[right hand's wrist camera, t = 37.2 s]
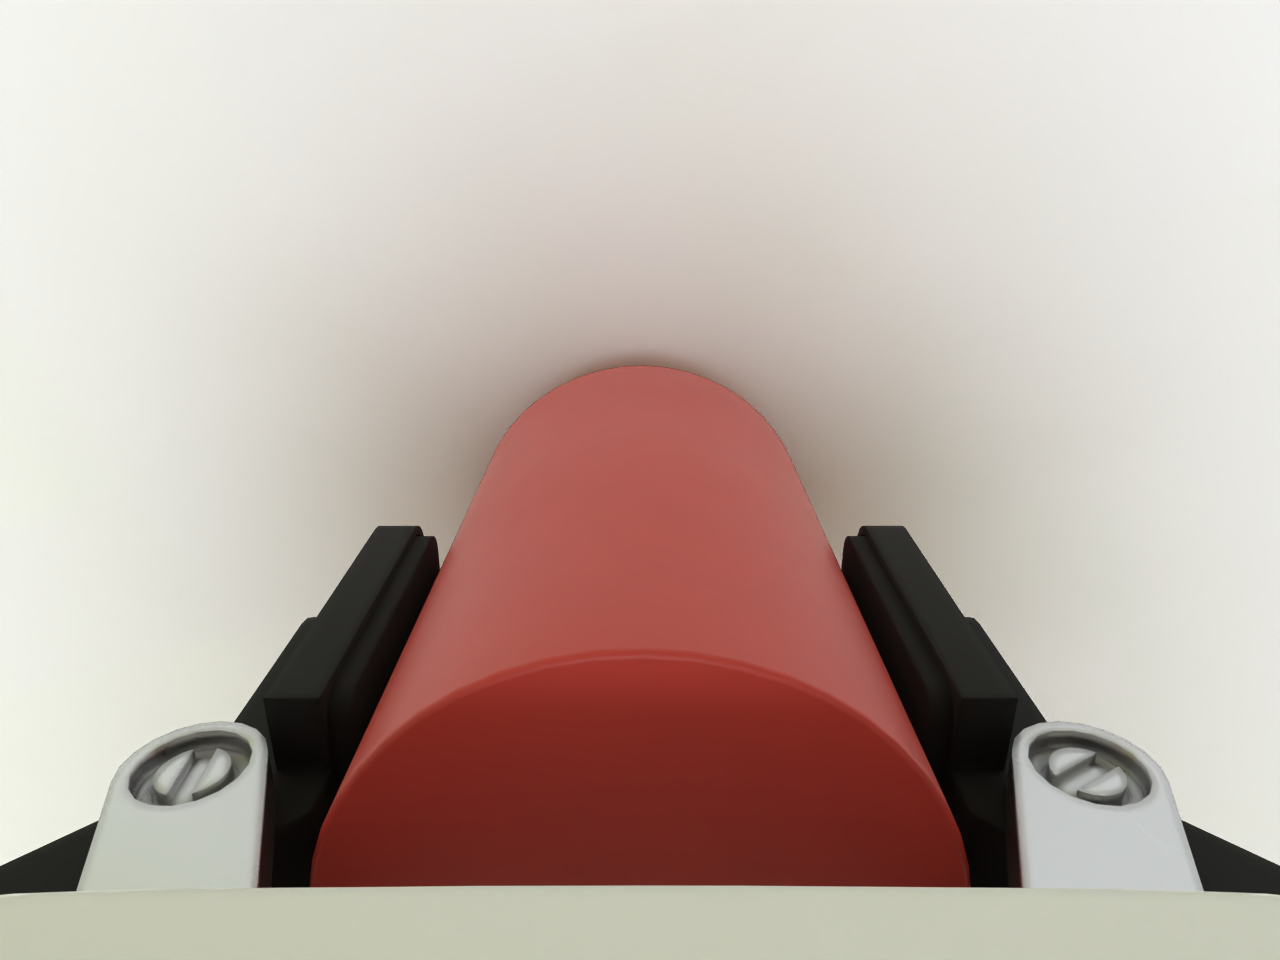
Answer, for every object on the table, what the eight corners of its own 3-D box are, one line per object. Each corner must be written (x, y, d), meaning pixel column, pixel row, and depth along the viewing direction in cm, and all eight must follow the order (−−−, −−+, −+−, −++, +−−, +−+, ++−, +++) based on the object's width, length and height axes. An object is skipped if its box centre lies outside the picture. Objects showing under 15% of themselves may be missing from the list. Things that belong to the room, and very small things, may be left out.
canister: (866, 468, 15) (1117, 845, 7) (692, 704, 16) (738, 1216, 9) (579, 300, 14) (495, 522, 6) (427, 571, 15) (208, 1016, 8)
